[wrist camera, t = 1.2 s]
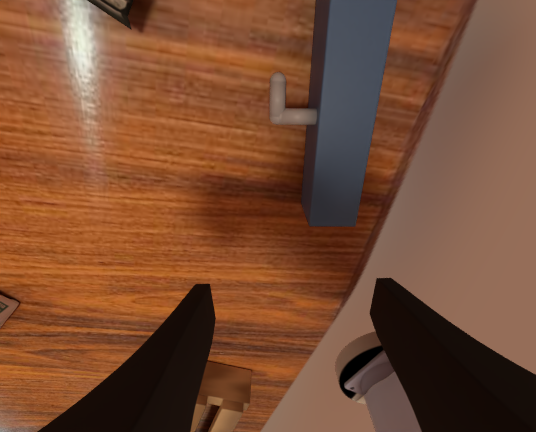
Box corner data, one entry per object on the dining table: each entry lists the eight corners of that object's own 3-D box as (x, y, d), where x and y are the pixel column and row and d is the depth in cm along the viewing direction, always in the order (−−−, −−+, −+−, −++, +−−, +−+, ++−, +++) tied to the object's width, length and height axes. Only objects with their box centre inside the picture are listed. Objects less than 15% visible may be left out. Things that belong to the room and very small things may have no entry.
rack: (251, 370, 26) (249, 414, 22) (213, 443, 32) (207, 487, 29) (155, 349, 24) (136, 393, 21) (135, 431, 31) (118, 475, 27)
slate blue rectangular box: (370, -11, 13) (406, -49, 9) (339, 203, 18) (356, 227, 15) (270, -13, 13) (272, -51, 9) (267, 203, 18) (268, 226, 15)
